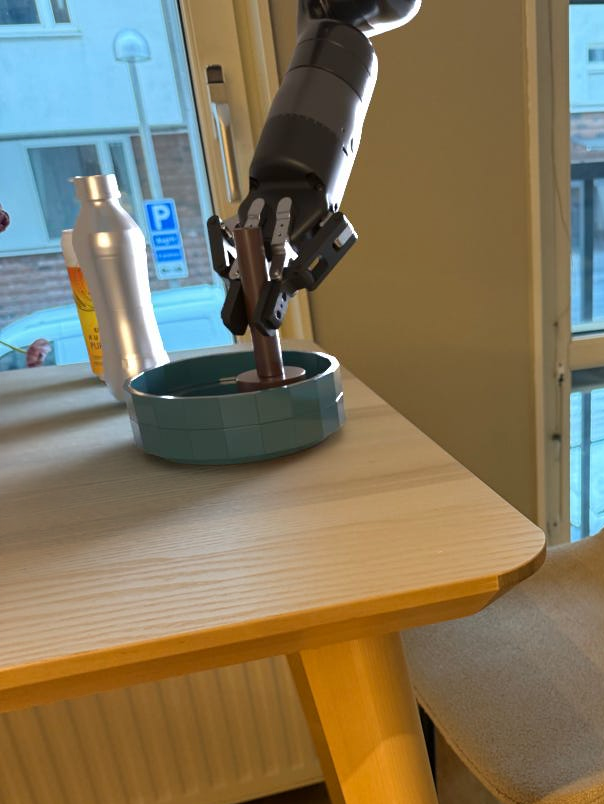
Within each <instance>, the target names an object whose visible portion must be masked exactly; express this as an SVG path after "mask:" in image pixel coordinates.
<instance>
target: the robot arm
mask: <svg viewBox="0 0 604 804" xmlns="http://www.w3.org/2000/svg"><path fill="white" fill-rule="evenodd" d="M421 3H422V0H296V19H295V20H296V23H295V25H296V26H295V34H296V35H295V46H294V48H293V51H292V54H291V57H290V60H289V62H288V66H287V68H286V71H285V74H284V76H283V79H282V82H281V84H280V86H279V88H278V90H277V91H276V93H275V95H274V97H273V98H272V101H271V105H270V107H269V110H268V113H267V116H266V119H265V121H264V124H263V127H262V130H261V132H260V136H259V139H258V141H257V145H256V147H255V150H254V153H253V156H252V159H251V161H250V165H249V168H248V194H247V195H246V196H245V198H244V199H243V200H242V202H240V203H239V206H238V208H237V214H234V215H232V216H230V217H228V218H225V219H224V220H222V219H221V217H220V216H219V215H217V214H213V215H211V216H209V218H207V220H206V230H207V234H208V235H207V236H208V243H209V250H210V256H211V262H212V269H213V271H214V272H215V273H216V274H217V275H218V277H219V278H220V279H221V280H222V281H223V282H224V283H225V285H226V286H227V287H228V289H227V291H226V292H227V293H226V296H225V299H224V302H223V304H222V307H221V310H220V319H221V320H222V324H223V326H224V327H225V328H226V329H227V330H228V331H229V332H230V333H231V334H232V335H233V336H236V337H242V336H245V335H246V332H247V330H248V328H249V325H248V319H247V313H246V307H245V301H244V296H243V290H242V284H241V278H240V272H239V267H238V261H237V255H236V249H235V243H234V238H233V232H232V229H235V228H242V227H261V228H262V234H263V241H264V247H265V253H266V260H267V266H268V272H269V279H270V281H264V284H263V287H262V290H261V293H260V296H259V299H258V302H257V305H256V308H255V311H254V314H253V317H252V322H253V325H254V326H255V328H256V329H257V330H258V331H259V332H260V333H261V334H262V335H263V336H265V337H273V336H274V335H275V332H276V330H278V331H279V329H280V328H281V326H282V325H283V322H284V320H285V319H284V318H285V316H286V313H287V310H288V306H289V303H290V301H291V299H292V298H294V297H295V296H296V295H297V294H298V291H300V290H303V289H305V291H307V292H314V291H316V290H317V289H318V288H319V286H320V285H321V284H322V283H323V282H324V280H325V279H326V278H327V277H328V276H329V274H330V273H332V271H333V270H334V269H335V267H336V266H337V265H338V264H339V262H340V261H341V260H342V259H343V258H344V257H345V256H346V254H347V253H348V252H349V251H350V250H351V248H352V247H353V246H354V245H355V243H356V242H357V241H358V234H357V233H356V231H355V230H354V227H353V225H352V224H351V223H350V221H349V219H348V218H347V217H346V216H345V214H344V213H343V212H342V211H339V209H340V206H341V202H342V199H343V197H344V193H345V190H346V186H347V184H348V180H349V178H350V174H351V172H352V168H353V166H354V161H355V158H356V155H357V152H358V149H359V145H360V140H361V135H362V129H363V124H364V120H365V117H366V114H367V111H368V107H369V104H370V101H371V98H372V95H373V92H374V88H375V85H376V81H377V77H378V68H379V67H378V66H379V65H378V57H377V53H376V50H375V47H374V45H373V43H372V41H371V40H370V39H369V38H370V37H373V36H376V35H379V34H383V33H385V32H388V31H392V30H395V29H397V28H400V27H403V26H405V25H406V24H408V23H410V22H411V21H412V20H413V19H414V18H415V17H416V15H417V14H418V12H419V9H420V7H421V5H422V4H421ZM317 258H318V262H317V263H316V264H315V265H314V266H313V268H312V269H310V267H311V266H312V264H313V263H314V262H315V261H316V260H317Z"/></svg>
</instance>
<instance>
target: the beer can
mask: <svg viewBox="0 0 604 804" xmlns="http://www.w3.org/2000/svg"><path fill="white" fill-rule="evenodd" d="M72 232H73V228H69V229H63V230H61V237H60V247H61V251H62V255H63V259H64V263H65V267H66V272H67V275H68V278H69V283H70V287H71V292H72V296H73V299H74V303H75V307H76V311H77V315H78V319H79V323H80V327H81V331H82V335H83V339H84V343H85V347H86V351H87V355H88V360H89V363H90V368H91V371H92V373H93V374H94V375H95V376H97V377H98V378H99V380H100V381H103V382H105V380H104V373H103V364H102V356H103V353H102V347H101V341H100V335H99V328H98V322H97V317H96V314H95V311H94V308H95V307H94V304H93V303H92V300H91V297H90V293H89V290H88V286H87V284H86V281H85V279H84V276H83V273H82V271H81V268H80V265H79V263H78V260H77V256H76V254H75V252H74V249H73V246H72Z"/></svg>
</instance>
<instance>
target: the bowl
mask: <svg viewBox="0 0 604 804" xmlns="http://www.w3.org/2000/svg"><path fill="white" fill-rule="evenodd" d="M281 355H282V361H283V366H292V367H299V368H302V369H304V370H305V373H306V380H304V381H301V382H297V383H294V384H290V385H287V386H282V387H277V388H271V389H266V390H261V391H255V392H248V393H239V391H238V385H237V380H236V378H237V376H238V375H240V374H242V373H244V372H247V371H250V370H255V369H256V365H255V359H254V354H253V349H250V350H249V349H248V350H247V349H246V350H237V351H228V352H226V351H225V352H218V353H217V352H216V353H210V354H205V355H198V356H192V357H186V358H185V357H184V358H181V359H178V360H172V361H170V362H168V363H164V364H160V365H157V366H154V367H151V368H148V369H145V370H142V371H140V372H137V373H135V374H134V375H132V376H131V377H129V378H127V379H126V380H125V381H124V384H123V387H122V389H123V393H124V397H125V401H126V402H125V405H126V409H127V414H128V418H129V421H130V422H129V423H130V427H131V431H132V435H133V439H134V444H135V446H137V447H138V448H139V449H140V450H142V451H143V452H144V453H145V454H149V455H153V456H156V457H160V458H161V459H163V460H166V461H169V462H173V463H179V464H186V465H195V466H196V465H197V466H222V465H234V464H245V463H246V464H247V463H253V462H261V461H266V460H271V459H276V458H281V457H284V456H288V455H291V454H295V453H298V452H301V451H304V450H306V449H309V448H312V447H314V446H316V445H318V444H319V443H321V442H323V441H324V440H326V439H327V438H328V437H329V436H330V435H331V434H334V433H335V432H337V431H338V430H340V429H341V428H342V426H343V425H344V424H345V422H346V420H347V416H346V410H345V409H346V408H345V401H344V393H343V383H342V376H341V368H340V363H339V361H338V360H337V359H336V357H335V356H332V355H329V354H326V353H324V352H318V351H311V350H304V349H281Z"/></svg>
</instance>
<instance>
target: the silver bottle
mask: <svg viewBox="0 0 604 804" xmlns="http://www.w3.org/2000/svg"><path fill="white" fill-rule="evenodd" d="M72 179H73V180H72V181H73V185H74V191H75V198H76V199H75V200H76V201H80V210H79V212H78V215H77V217H76V219H75V222H74V224H73V225H74V226H73V228H72V229H73V232H72V246H73V249H74V252H75V254H76V256H77V260H78V263H79V265H80V268H81V271H82V273H83V276H84V279H85V281H86V284H87V286H88V290H89V293H90V297H91V300H92V303H93V304H94V307H95V308H94V311H95V314H96V317H97V322H98V328H99V335H100V341H101V347H102V353H103V356H102V364H103V373H104V380H105V381H104V382H105V384H106V387H107V389H108V391H109V394H110V395H111V396H112V397H113V398H114V399H115V400H116V401H117V402H121V403H126V401H125V397H124V393H123V389H122V387H123V384H124V381H125V380H126V379H127V378H129V377H131V376H132V375H134V374H135V373H137V372H140V371H142V370H145V369H148V368H151V367H154V366H157V365H160V364H164V363H168V362H171V361H170V357H169V356H168V353H167V351H166V349H165V348H164V343H163V341H162V337H161V334H160V330H159V327H158V323H157V320H156V316H155V313H154V312H155V311H154V307H153V302H152V299H151V298H152V294H151V287H150V283H149V271H148V259H147V251H146V248H147V247H146V238H145V236H144V234H143V232H142V229H141V228H140V226H139V225H138V224H137V222H136V221H135V219H133V217H132V216H131V215H130V213H128V212H127V211H126V209H124V208H123V206H121V204H120V202H119V198H121V197H122V195H121V192H120V191H119V187H118V183H117V178H116V176H115V174H100V175H99V174H98V175H84V176H73V177H72Z"/></svg>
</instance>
